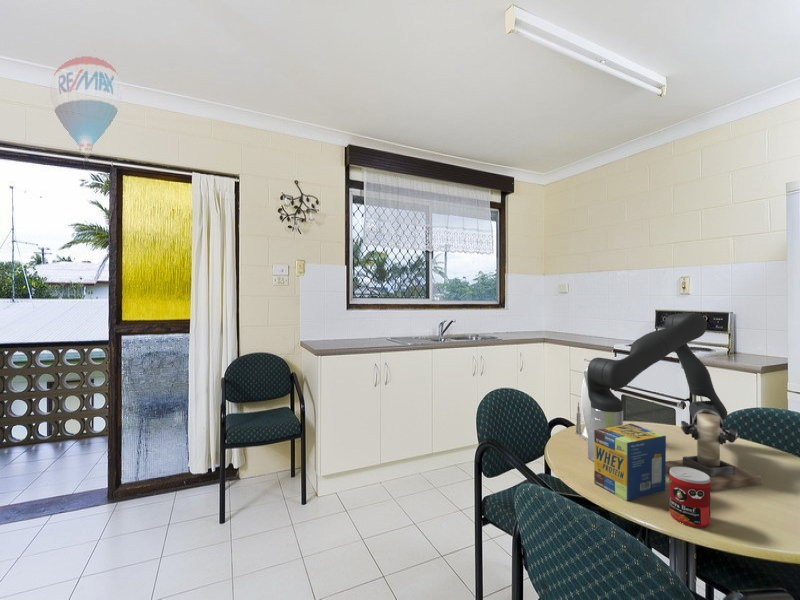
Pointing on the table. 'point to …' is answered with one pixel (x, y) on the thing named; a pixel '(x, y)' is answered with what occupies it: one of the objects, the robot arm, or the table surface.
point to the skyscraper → (584, 410)
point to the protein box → (630, 461)
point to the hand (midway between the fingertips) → (708, 438)
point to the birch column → (708, 439)
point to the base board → (719, 473)
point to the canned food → (689, 496)
